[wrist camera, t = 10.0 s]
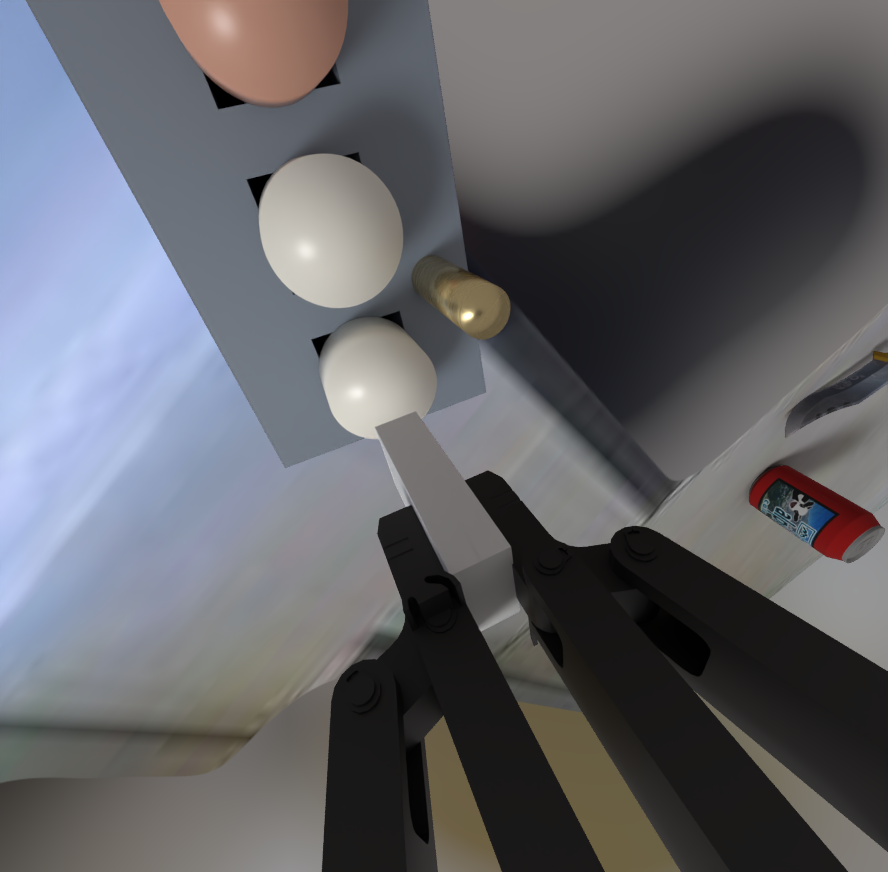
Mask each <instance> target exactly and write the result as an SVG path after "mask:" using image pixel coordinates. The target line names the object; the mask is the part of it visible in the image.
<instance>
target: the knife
mask: <svg viewBox="0 0 888 872" xmlns="http://www.w3.org/2000/svg"><path fill="white" fill-rule="evenodd" d="M886 384H888V353H882V352H878V351H874V352H873V360H872V361H871V362H870V363H868V364H867V365H865V366H864V367H862V368H861V369H859V370H858V371H856V372H855V373H853V374H852V375H850V376H848V377H847V378H845V379H843V380H841V381H839V382H838V383H836V384H833V385H831V386H829V387H827V388H825V389H822V390H820V391H818V392H816V393H814V394H812V395H810V396H808V397H806V398H805V399H803V400H802V401H801V402H800V403H798V404H797V406H796V407H795V408H794V409H793V410H792V412H791V413H790V415H789V417H788V419H787V422H786V427H785V438H786V437H788V436H789V435H791V434H793V433H794V432H796V431H797V430H799V429H800V428H802V427H804V426H806V425H807V424H809V423H811V422H813V421H814V420H816V419H818V418H820V417H822V416H825V415H827V414H829V413H831V412H834V411H837V410H839V409H842V408H845V407H849V406H852V405H856V404H859V403H860V402H862V401H863V400H865V399H866V398H868V397H869V396H870V395H872V394H873V393H875V392H876V391H878V390H879V389H880V388H882V387H883V386H885V385H886Z"/></svg>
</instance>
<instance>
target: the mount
mask: <svg viewBox="0 0 888 872" xmlns="http://www.w3.org/2000/svg"><path fill="white" fill-rule="evenodd" d="M26 2H27V3H28V5H29V7H30V9H31V11H32V12H33V14H34V16H35V18H36V20H37V22H38V23H39V25H40V27H41V29H42V31H43V32H44V34H45V36H46V38H47V40H48V41H49V43H50V45H51V47H52V49H53V50H54V52H55V54H56V56H57V58H58V59H59V61H60V63H61V65H62V67H63V68H64V70H65V72H66V74H67V76H68V77H69V79H70V81H71V83H72V85H73V86H74V88H75V90H76V92H77V94H78V95H79V97H80V99H81V101H82V103H83V104H84V106H85V108H86V110H87V112H88V113H89V115H90V117H91V119H92V121H93V122H94V124H95V126H96V128H97V130H98V132H99V133H100V135H101V137H102V139H103V141H104V142H105V144H106V146H107V148H108V150H109V151H110V153H111V155H112V157H113V159H114V160H115V162H116V164H117V166H118V168H119V169H120V171H121V173H122V175H123V177H124V178H125V180H126V182H127V184H128V186H129V187H130V189H131V191H132V193H133V195H134V196H135V198H136V200H137V202H138V204H139V205H140V207H141V209H142V211H143V213H144V214H145V216H146V218H147V220H148V222H149V223H150V225H151V227H152V229H153V231H154V233H155V234H156V236H157V238H158V240H159V242H160V243H161V245H162V247H163V249H164V251H165V252H166V254H167V256H168V258H169V260H170V261H171V263H172V265H173V267H174V269H175V270H176V272H177V274H178V276H179V278H180V279H181V281H182V283H183V285H184V287H185V288H186V290H187V292H188V294H189V296H190V297H191V299H192V301H193V303H194V305H195V306H196V308H197V310H198V312H199V314H200V315H201V317H202V319H203V321H204V323H205V324H206V326H207V328H208V330H209V332H210V334H211V335H212V337H213V339H214V341H215V343H216V344H217V346H218V348H219V350H220V352H221V353H222V355H223V357H224V359H225V361H226V362H227V364H228V366H229V368H230V370H231V371H232V373H233V375H234V377H235V379H236V380H237V382H238V384H239V386H240V388H241V389H242V391H243V393H244V395H245V397H246V398H247V400H248V402H249V404H250V406H251V407H252V409H253V411H254V413H255V415H256V416H257V418H258V420H259V422H260V424H261V425H262V427H263V429H264V431H265V433H266V434H267V436H268V438H269V440H270V442H271V444H272V445H273V447H274V449H275V451H276V453H277V454H278V456H279V458H280V460H281V462H282V463H283V465H284V467H285V468H287V467H290V466H292V465H295V464H297V463H300V462H303V461H305V460H308V459H311V458H313V457H316V456H319V455H321V454H324V453H327V452H329V451H332V450H335V449H337V448H340V447H343V446H345V445H348V444H350V443H353V442H356V441H358V440H361V439H364V437H360V436H357V435H355V434H353V433H351V432H349V431H347V430H346V429H345V428H344V427H342V426H341V425H340V424H339V423H338V421H337V420H336V419H335V417H334V416H333V414H332V412H331V409H330V406H329V403H328V400H327V397H326V394H325V391H324V388H323V385H322V381H321V378H320V374H319V357H320V355H319V352H318V350H317V347H316V345H315V342H314V340H313V339H314V338H317V337H320V336H323V335H326V334H329V333H332V332H334V331H335V330H336V329H337V328H339V327H340V326H341V325H343V324H345V323H346V322H348V321H351V320H353V319H357V318H361V317H382V318H384V319H388V320H390V321H392V322H394V323H396V324H398V325H399V326H400V327H402V328H403V329H404V330H405V331H406V332H407V333H408V335H409V336H410V337H411V338H412V339H413V340H414V341H415V342H416V343H417V344H418V346H419V347H420V348H421V349H422V350H423V351H424V352H425V353H426V354H427V355H428V357H429V358H430V360H431V362H432V364H433V366H434V368H435V372H436V377H437V389H436V395H435V398H434V401H433V403H432V406H431V407H430V409H429V411H428V412H427V414H430V413H433V412H435V411H438V410H441V409H443V408H446V407H448V406H451V405H454V404H456V403H459V402H462V401H464V400H467V399H470V398H472V397H475V396H478V395H480V394H483V393H486V388H485V381H484V375H483V368H482V361H481V354H480V348H479V341H478V339H475V338H473V337H471V336H470V335H468V334H467V333H466V332H465V331H463V330H462V329H461V328H459V327H458V326H457V325H456V324H454V323H453V322H452V321H451V320H449V319H448V318H447V317H446V316H444V315H443V314H442V313H441V312H439V311H438V310H437V309H436V308H434V307H433V306H432V305H431V304H429V303H428V302H427V301H426V300H424V299H423V298H422V297H421V296H419V295H418V294H417V293H416V292H415V290H414V288H413V286H412V281H411V276H412V271H413V268H414V266H415V265H416V263H417V262H418V261H419V260H420V259H422V258H423V257H426V256H429V255H436V256H439V257H441V258H443V259H445V260H447V261H449V262H451V263H453V264H455V265H457V266H459V267H461V268H463V269H465V270H467V271H468V267H467V260H466V254H465V247H464V240H463V234H462V227H461V220H460V213H459V207H458V200H457V193H456V187H455V180H454V174H453V166H452V160H451V153H450V146H449V140H448V133H447V126H446V120H445V113H444V106H443V99H442V93H441V86H440V80H439V72H438V66H437V60H436V52H435V46H434V39H433V32H432V25H431V19H430V12H429V6H428V0H348V18H347V28H346V32H345V37H344V41H343V44H342V47H341V50H340V53H339V55H338V57H337V59H336V61H335V63H334V65H333V66H332V68H331V69H330V71H329V72H328V74H327V75H326V76H325V77H324V78H323V79H322V81H321V82H320V83H319V84H318V85H317V86H316V89H313V91H312V92H311V93H310V94H309V95H307V96H306V97H305V98H303V99H302V100H300V101H298V102H296V103H294V104H292V105H288V106H285V107H278V108H266V107H260V106H255V105H252V104H249V103H246V104H242V105H237V106H232V107H227V108H223V109H221V108H220V106H219V103H218V101H217V98H216V96H215V93H214V91H213V88H212V86H211V83H210V81H209V78H208V76H207V75H206V74H205V73H204V72H203V71H202V70H201V69H200V67H199V66H198V65H197V64H196V63H195V61H194V60H193V59H192V57H191V56H190V54H189V53H188V52H187V50H186V48H185V47H184V45H183V43H182V42H181V40H180V38H179V36H178V35H177V33H176V31H175V30H174V28H173V26H172V24H171V23H170V21H169V19H168V17H167V16H166V14H165V12H164V10H163V8H162V6H161V4H160V2H159V0H26ZM312 154H335V155H341V156H344V157H347V158H351V159H353V160H355V161H357V162H359V163H361V164H362V165H364V166H365V167H367V168H368V169H370V170H371V171H372V172H373V173H374V174H376V175H377V176H378V177H379V179H380V180H381V181H382V182H383V183H384V184H385V186H386V187H387V188H388V190H389V191H390V193H391V195H392V197H393V198H394V200H395V203H396V205H397V207H398V210H399V213H400V217H401V221H402V227H403V249H402V254H401V259H400V262H399V265H398V267H397V270H396V272H395V274H394V276H393V277H392V279H391V281H390V282H389V283H388V284H387V286H386V287H385V288H384V289H383V290H382V291H381V292H380V293H379V294H377V295H376V296H375V297H373V298H372V299H370V300H368V301H366V302H364V303H362V304H359V305H356V306H352V307H347V308H329V307H323V306H320V305H316V304H313V303H311V302H309V301H306V300H305V299H303V298H301V297H299V296H298V295H296V294H295V293H294V292H292V291H291V290H290V289H289V288H288V287H287V286H286V285H285V284H284V283H283V282H282V281H281V280H280V279H279V277H278V276H277V275H276V273H275V272H274V270H273V269H272V267H271V265H270V263H269V261H268V259H267V257H266V255H265V252H264V249H263V245H262V241H261V236H260V228H259V219H258V212H259V203H258V200H257V198H256V195H255V193H254V190H253V188H252V185H251V183H250V181H249V179H250V178H254V177H258V176H262V175H266V174H270V173H274V172H275V171H276V170H277V169H278V168H279V167H280V166H281V165H283V164H284V163H286V162H288V161H289V160H291V159H294V158H297V157H300V156H305V155H312ZM427 414H426V415H427Z"/></svg>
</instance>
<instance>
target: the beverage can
mask: <svg viewBox="0 0 888 872" xmlns="http://www.w3.org/2000/svg"><path fill="white" fill-rule="evenodd" d="M749 494H750V496H749V502H750V504H751V505H752V506H754V507H755V508H756V509H758V510H759V511H761V512H762V513H763V514H765V515H766V516H768V517H769V518H771V519H772V520H773V521H775V522H776V523H778V524H779V525H781V526H782V527H784V528H785V529H786V530H788V531H789V532H791V533H792V534H794V535H795V536H797V537H798V538H800V539H801V540H802V541H804V542H805V543H807V544H808V545H810V546H811V547H813V548H814V549H816V550H817V551H819V552H820V553H822V554H823V555H825V556H826V557H830V558H834V559H838V560H842V561H844V562H846V563H851V562H854V561H855V560H857V559H859V558H860V557H862V556H863V555H865V554H866V553H867V552H868V551H869V550H870V549H871V548H873V547H874V546H875V545H876V544H877V543H878V541H879V540H880V539H881V538H882V536H883V535H884V532H885V529H884V528H883V527H881V526H880V524H879V523H878V521H877V520H876V518H875V517H874V516H873V514H872V513H870V512H868V511H867V510H865V509H863V508H861V507H860V506H858V505H856V504H855V503H853V502H851V501H849V500H848V499H846V498H844V497H842V496H841V495H839V494H837V493H835V492H834V491H832V490H830V489H828V488H826V487H825V486H823V485H821V484H819V483H818V482H816V481H814V480H812V479H811V478H809V477H807V476H805V475H803V474H801V473H800V472H798V471H796V470H794V469H792V468H791V467H789V466H786V465H783V466H778V467H776V468H771V469H769V470H767V471H765V472H764V473H763V474H761V475H760V476H759V477H758V478H757V479H756V480H755V482H754V483H753V485H752V486H751V488H750V492H749Z"/></svg>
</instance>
